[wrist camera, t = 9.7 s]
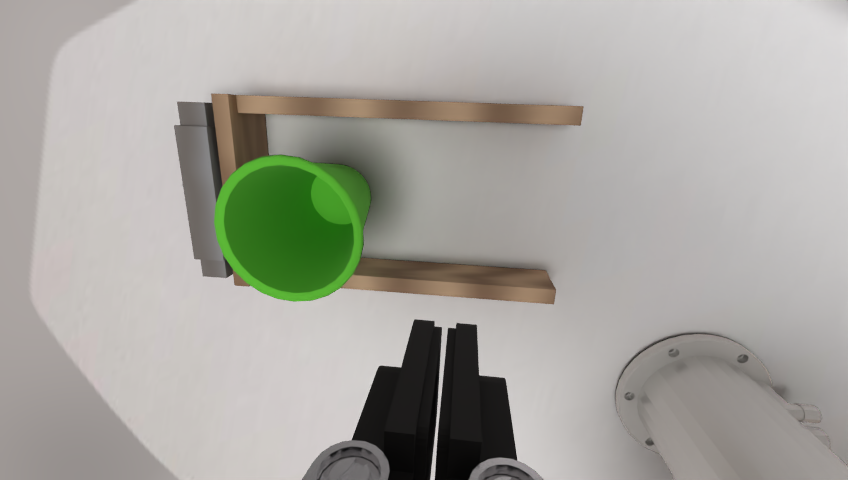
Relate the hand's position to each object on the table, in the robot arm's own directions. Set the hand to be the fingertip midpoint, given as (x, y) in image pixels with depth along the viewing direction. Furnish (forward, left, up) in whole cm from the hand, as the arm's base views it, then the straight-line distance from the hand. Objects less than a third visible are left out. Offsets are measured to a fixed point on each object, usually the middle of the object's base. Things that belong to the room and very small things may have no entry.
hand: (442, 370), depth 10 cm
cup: (+10, 0, -23) cm, 25 cm away
